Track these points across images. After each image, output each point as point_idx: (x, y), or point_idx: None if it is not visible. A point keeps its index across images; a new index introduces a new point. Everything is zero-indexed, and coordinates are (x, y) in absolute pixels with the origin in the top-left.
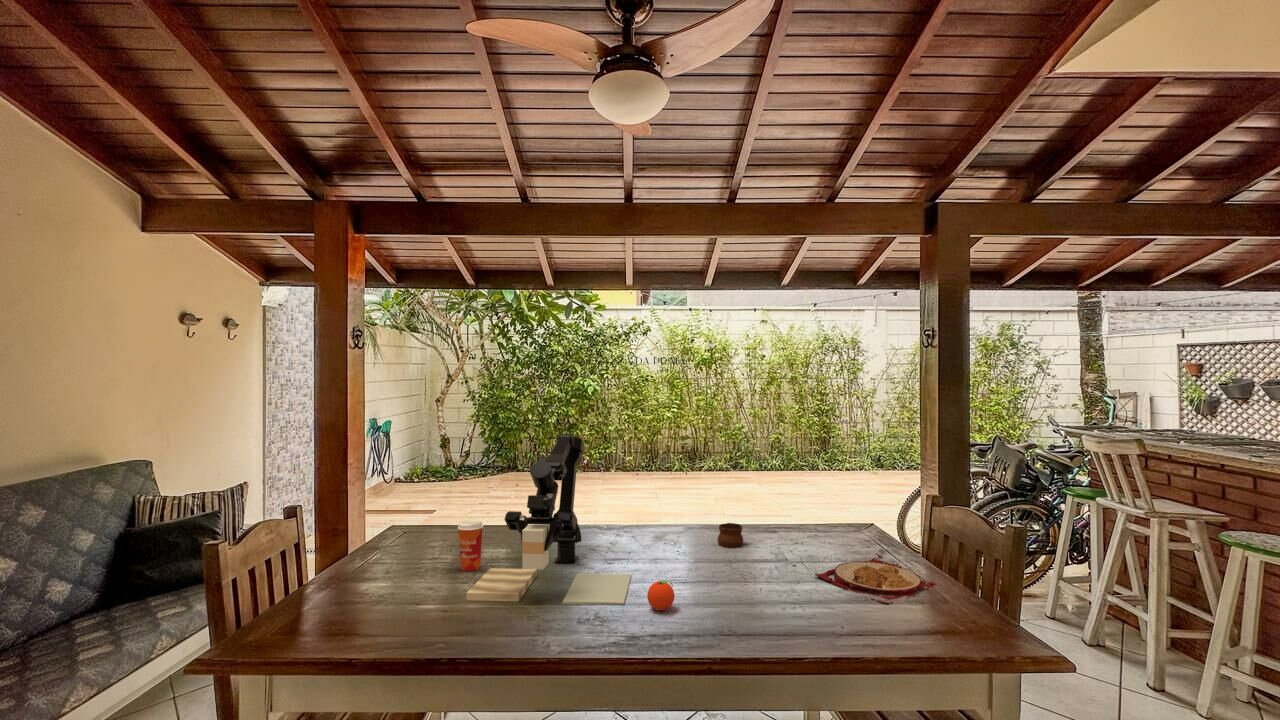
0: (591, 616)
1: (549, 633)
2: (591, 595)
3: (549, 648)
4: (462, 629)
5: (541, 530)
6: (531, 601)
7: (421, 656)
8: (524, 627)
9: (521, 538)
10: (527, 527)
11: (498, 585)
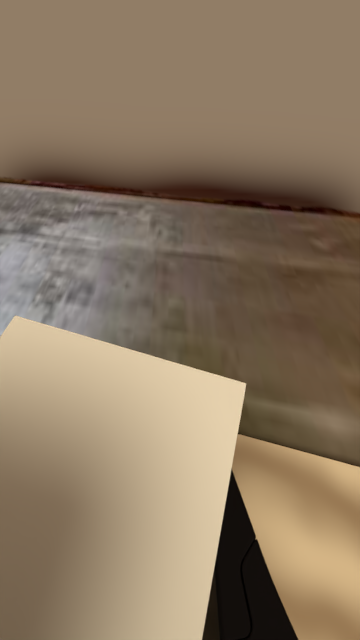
0: (60, 307)
1: (147, 256)
2: None
3: (152, 216)
4: (306, 291)
5: (21, 334)
6: None
7: (334, 218)
8: (189, 282)
9: (244, 508)
10: (180, 576)
11: (297, 543)
